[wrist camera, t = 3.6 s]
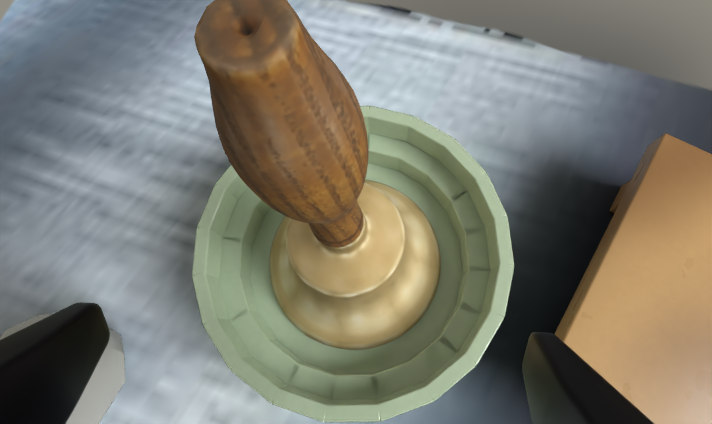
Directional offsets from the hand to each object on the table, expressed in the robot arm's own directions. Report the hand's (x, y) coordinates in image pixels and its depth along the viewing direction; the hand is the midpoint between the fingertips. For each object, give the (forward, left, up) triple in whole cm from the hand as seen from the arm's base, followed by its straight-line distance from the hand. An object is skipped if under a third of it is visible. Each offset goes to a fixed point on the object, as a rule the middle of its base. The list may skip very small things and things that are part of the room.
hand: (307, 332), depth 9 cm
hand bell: (+3, -2, -11) cm, 12 cm away
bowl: (+3, -2, -11) cm, 12 cm away
